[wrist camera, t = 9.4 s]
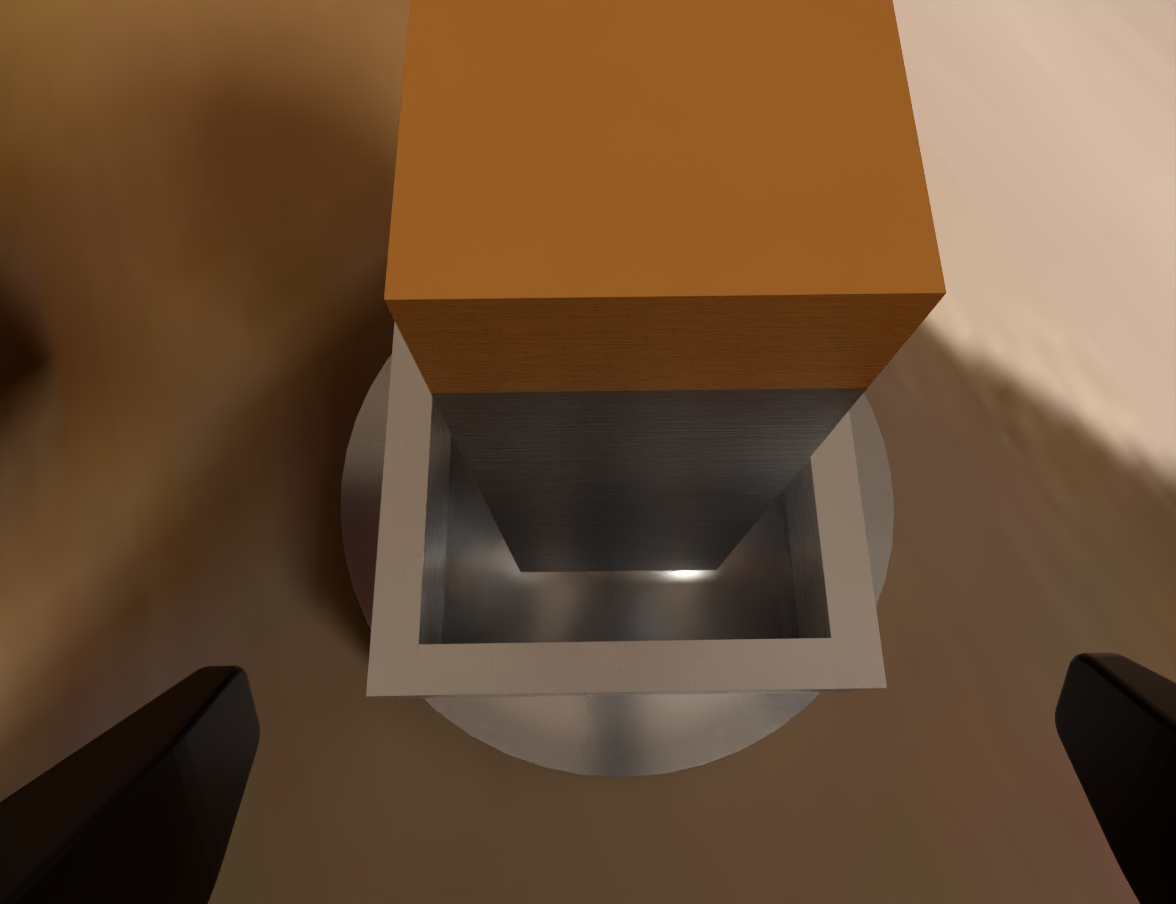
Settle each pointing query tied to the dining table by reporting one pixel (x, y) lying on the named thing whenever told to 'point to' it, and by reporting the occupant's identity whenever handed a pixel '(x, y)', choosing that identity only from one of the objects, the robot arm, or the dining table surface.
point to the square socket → (608, 604)
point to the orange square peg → (652, 256)
